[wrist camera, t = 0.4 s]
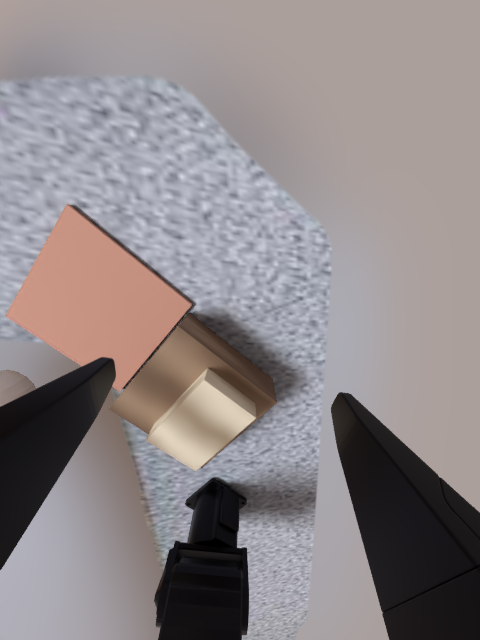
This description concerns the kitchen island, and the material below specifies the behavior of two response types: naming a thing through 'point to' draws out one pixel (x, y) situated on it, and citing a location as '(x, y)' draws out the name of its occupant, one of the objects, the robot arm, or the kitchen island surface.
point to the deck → (190, 376)
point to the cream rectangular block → (202, 420)
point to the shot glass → (13, 386)
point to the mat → (95, 299)
